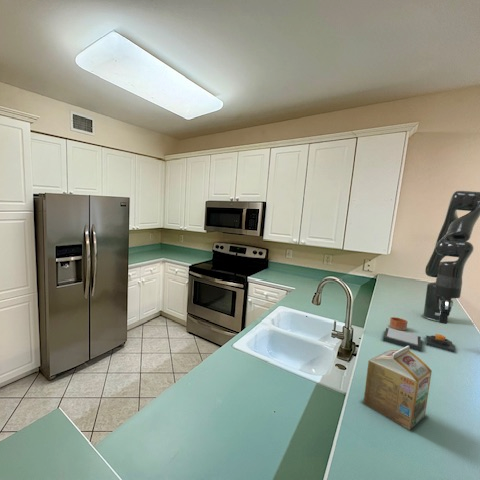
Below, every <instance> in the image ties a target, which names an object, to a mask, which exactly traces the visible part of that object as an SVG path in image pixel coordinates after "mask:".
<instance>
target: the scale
mask: <svg viewBox="0 0 480 480" xmlns="http://www.w3.org/2000/svg"><path fill="white" fill-rule="evenodd" d="M382 341H383V342H386V343H389V344H392V345H396V346H399V347H402V348H404V347H406V346H410V347H409V350H413V351H417V352H421V350H422V337H421V336H420V335H418V334H414V333H410V332H406V331H401V330H396V329H394V328H392V327H386V328H385V331H384V334H383V340H382Z"/></svg>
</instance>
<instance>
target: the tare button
mask: <svg viewBox="0 0 480 480" xmlns="http://www.w3.org/2000/svg"><path fill="white" fill-rule="evenodd" d="M434 336H435V338H436V339H438V340H442V341H445V339H447V338H446V336H445V335H442V334H437V333H436V334H435V335H434Z"/></svg>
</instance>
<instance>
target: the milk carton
mask: <svg viewBox="0 0 480 480" xmlns="http://www.w3.org/2000/svg"><path fill="white" fill-rule="evenodd" d="M409 347H410V346H406V347H402V348H400V349H392V350H391V349H390V350H387V351H384V352H382V353H380V354H378V355H377V356H374V357H372V358H371V359H369V360H368V362H367V370H366V378H365V379H366V380H365V387H364V396H363V404H364V405H365V406H366V407H367V406H368V407H369V408H371V409H372V410H373V411H376V412H378V413H379V414H380V415H383V416H384V417H387V418H388V419H390V420H392V421H393V422H395V423H397V424H398V425H400V426H402V427H403V428H405V429H407V430H409V431H411V429H413V427H414V428H415V425H417V424H418V423H419V422H420V421H421V420H423V419H424V418H425V416H426V411H427V405H428V398H429V392H430V385H431V378H432V373H433V372H432V369H431V368H430V367H429V366H428V364H427V363H425V362H424V361H423V360H422V359H421V358H420V357H419V356H417V355H416V354H415V353H414V352H412V351H411V349H409Z"/></svg>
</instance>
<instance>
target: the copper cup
mask: <svg viewBox="0 0 480 480" xmlns="http://www.w3.org/2000/svg"><path fill="white" fill-rule="evenodd" d="M389 327H390V328H391V329H395V330H399V331H402V332H406V331H407V330H408V320H407V319H403V318H400V317H396V316H392V317H390V319H389Z"/></svg>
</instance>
